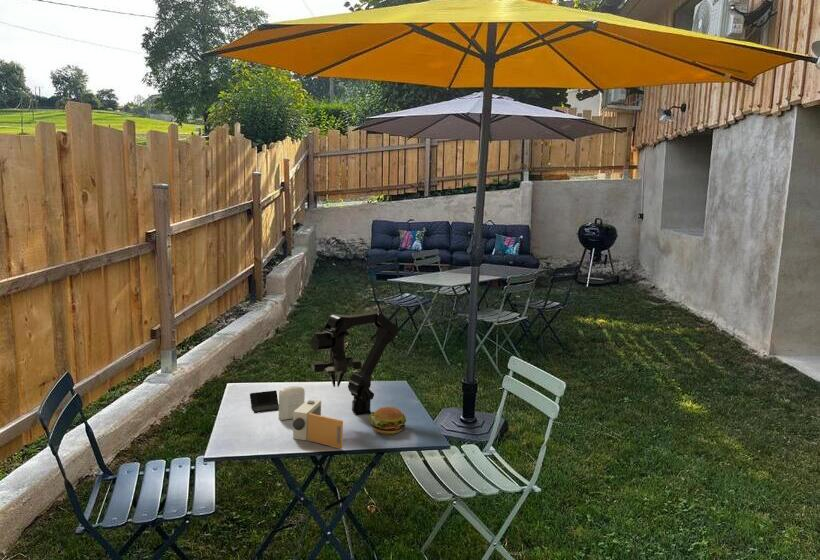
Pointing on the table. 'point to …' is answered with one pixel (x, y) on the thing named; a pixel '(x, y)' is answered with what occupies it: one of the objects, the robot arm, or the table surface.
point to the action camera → (304, 417)
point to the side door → (324, 430)
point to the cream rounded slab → (290, 401)
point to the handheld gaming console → (264, 401)
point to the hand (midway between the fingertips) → (336, 386)
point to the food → (387, 420)
